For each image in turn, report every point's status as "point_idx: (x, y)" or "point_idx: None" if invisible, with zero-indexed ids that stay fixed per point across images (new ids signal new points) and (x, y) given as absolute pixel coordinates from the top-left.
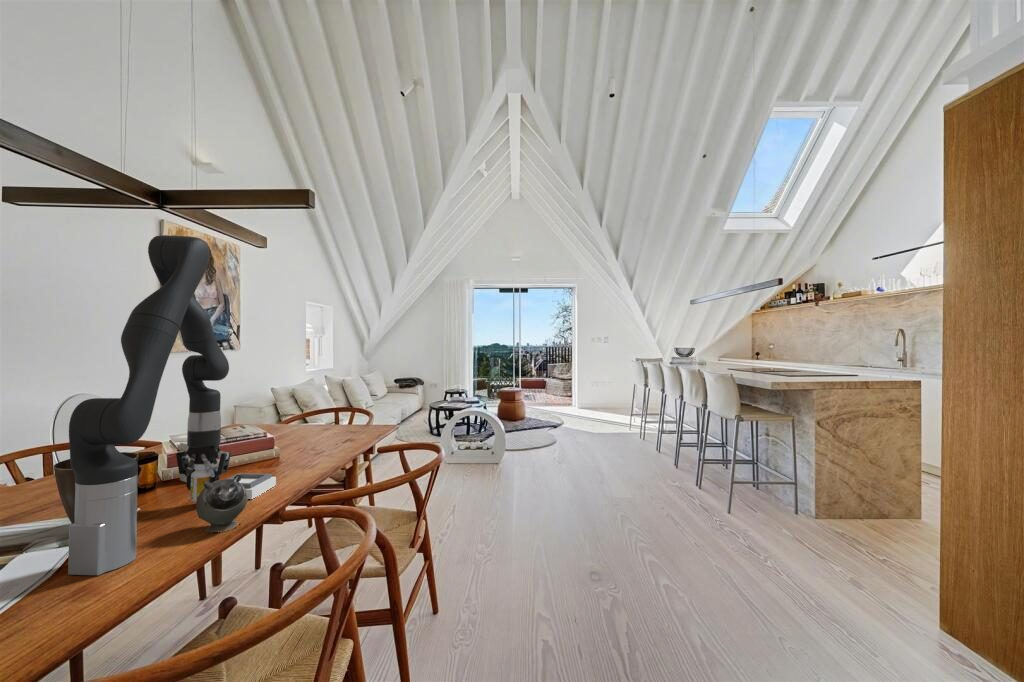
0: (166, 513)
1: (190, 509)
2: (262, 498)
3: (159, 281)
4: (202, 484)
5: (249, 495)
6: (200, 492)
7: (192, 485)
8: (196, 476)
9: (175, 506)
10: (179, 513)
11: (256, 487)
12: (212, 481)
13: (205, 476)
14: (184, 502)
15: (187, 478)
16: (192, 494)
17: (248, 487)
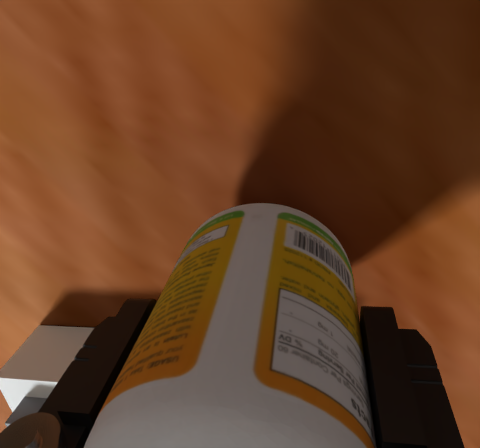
0: (442, 49)
1: (293, 161)
2: (14, 349)
3: None
4: (161, 315)
5: (33, 346)
6: (201, 252)
7: (285, 301)
8: (191, 398)
9: (472, 208)
10: (317, 67)
11: (13, 410)
12: (85, 370)
13: (104, 416)
14: (454, 285)
15: (445, 433)
16: (287, 236)
17: (36, 403)
